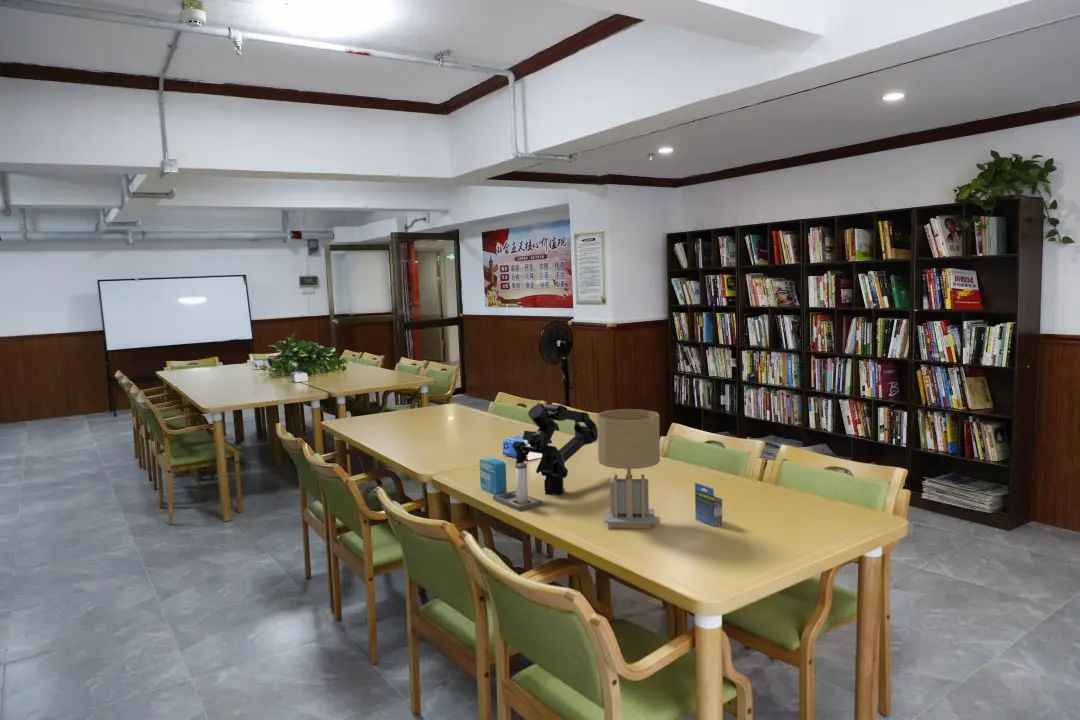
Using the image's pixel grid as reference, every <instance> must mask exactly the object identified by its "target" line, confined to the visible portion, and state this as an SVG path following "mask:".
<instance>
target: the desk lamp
mask: <svg viewBox="0 0 1080 720" xmlns="http://www.w3.org/2000/svg"><path fill="white" fill-rule="evenodd" d="M596 419H597V420H596V421H597V422H596V427H597V429H598V438H597V461H598V462H599V465H602V466H604V467H607V468H613V469H620V470H621V469H622V470H623V469H624V470H626V474H625V478H618V474H614V476H613V478H610V480H609V500H610V501H609V503H610V504H609V505H610V507H606V508H605V512H604V513H605V514H604V520H603V523H604V524H608V526H607V528H608V527H618V529H621V528H620V527H623V528H622V529H652V525H653V524H655V525H656V518H655V508H650V506H649V505H650V503H649V500H650V499H649V497H650V496H649V478H645V474H641V476H640V477H641V478H633V474H632V470H635V469H636V470H639V469H644V468H645V469H646V468H650V467H651V468H652V467H654V466H657V465H658V464H659V463H660V461H661V455H660V452H661V451H660V449H661V448H660V446H661V445H660V442H661V441H660V414H659V413H658V412H657V411H653V410H648V409H647V410H646V409H636V408H635V409H633V408H623V409H613V410H606V411H601V412H599V413H598V414H597V416H596ZM626 527H627V528H626ZM630 527H632V528H630Z"/></svg>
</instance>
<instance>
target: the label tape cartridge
mask: <svg viewBox="0 0 1080 720" xmlns="http://www.w3.org/2000/svg"><path fill="white" fill-rule="evenodd" d="M694 493H695V494H694V495H695V496H694V497H695V500H694V503H695V520H696V519H697V520H696V521H698V520H700V522H701V521H702V522H701V523H704V522H705V523H704V524H707V523H708V524H707V525H709V524H710V525H709V526H711V525H713V526H712V527H714V526H715V527H717V526H716V525H719V524H722V525H723V499H722V498H720V497H718V496H715V492H714V488H712V487H709V486H707V485H703V484H700V483H697V482H694ZM719 526H720V525H719Z"/></svg>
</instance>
